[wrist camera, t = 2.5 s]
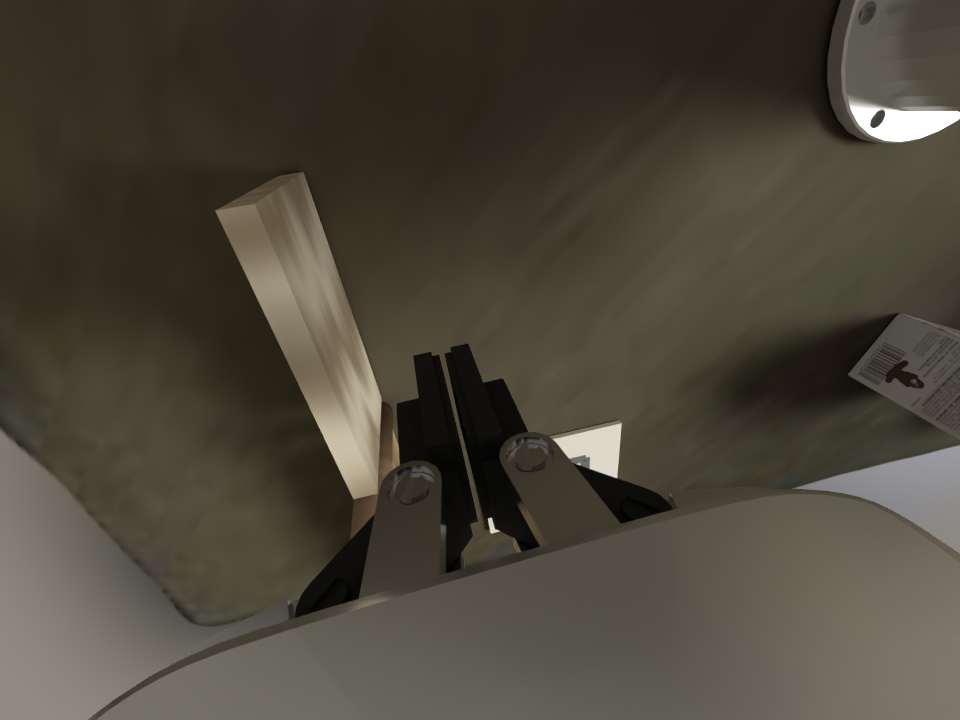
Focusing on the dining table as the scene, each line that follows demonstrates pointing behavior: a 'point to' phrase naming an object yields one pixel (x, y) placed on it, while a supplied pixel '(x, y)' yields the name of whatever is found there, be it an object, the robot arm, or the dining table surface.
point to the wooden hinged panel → (387, 463)
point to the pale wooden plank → (310, 319)
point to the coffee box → (916, 370)
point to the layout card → (590, 449)
